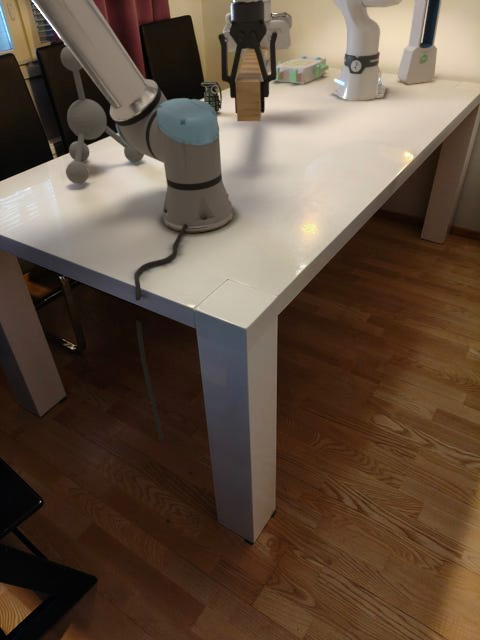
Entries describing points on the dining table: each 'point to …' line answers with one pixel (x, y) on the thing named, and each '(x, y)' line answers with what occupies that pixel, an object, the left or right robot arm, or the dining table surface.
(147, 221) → the dining table surface
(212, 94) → the grenade
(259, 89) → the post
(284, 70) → the white green flat box
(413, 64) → the electronic device
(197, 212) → the left robot arm
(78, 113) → the molecular model
